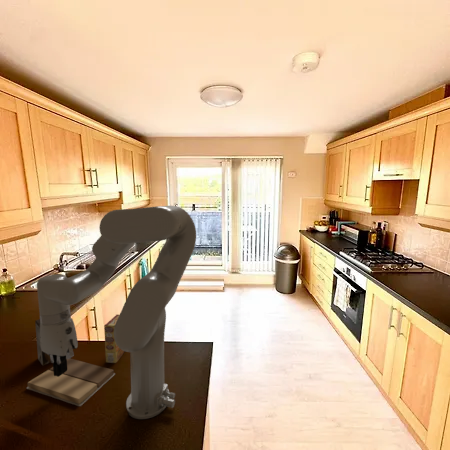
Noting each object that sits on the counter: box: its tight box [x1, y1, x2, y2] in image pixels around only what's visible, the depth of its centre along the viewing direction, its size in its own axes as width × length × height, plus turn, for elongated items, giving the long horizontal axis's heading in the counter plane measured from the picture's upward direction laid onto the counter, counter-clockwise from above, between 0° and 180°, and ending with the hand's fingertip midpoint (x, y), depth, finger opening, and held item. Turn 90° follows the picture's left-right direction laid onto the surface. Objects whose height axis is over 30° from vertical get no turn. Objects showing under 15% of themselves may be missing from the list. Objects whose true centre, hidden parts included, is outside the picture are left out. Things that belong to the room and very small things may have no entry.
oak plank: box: [27, 369, 97, 404], centre depth 76 cm, size 21×6×2 cm, turn 73°
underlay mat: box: [26, 372, 116, 407], centre depth 79 cm, size 22×14×1 cm, turn 73°
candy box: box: [103, 314, 126, 364], centre depth 92 cm, size 9×4×15 cm, turn 176°
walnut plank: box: [49, 358, 115, 388], centre depth 83 cm, size 21×6×2 cm, turn 73°
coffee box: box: [34, 318, 52, 366], centre depth 91 cm, size 9×6×16 cm
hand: (60, 373), depth 74 cm, fingers closed
